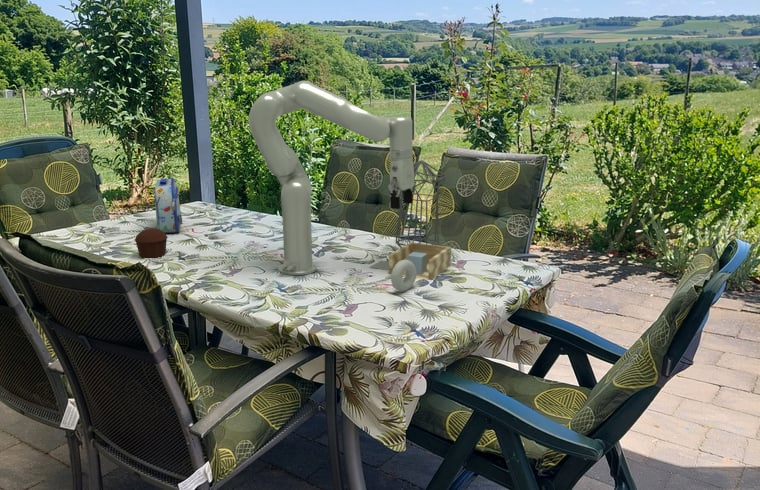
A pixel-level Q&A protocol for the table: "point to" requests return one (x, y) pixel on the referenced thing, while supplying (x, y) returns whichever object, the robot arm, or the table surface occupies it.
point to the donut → (398, 272)
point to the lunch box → (167, 206)
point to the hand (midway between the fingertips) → (401, 205)
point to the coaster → (381, 265)
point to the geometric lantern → (421, 202)
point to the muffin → (151, 243)
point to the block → (419, 261)
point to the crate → (435, 258)
